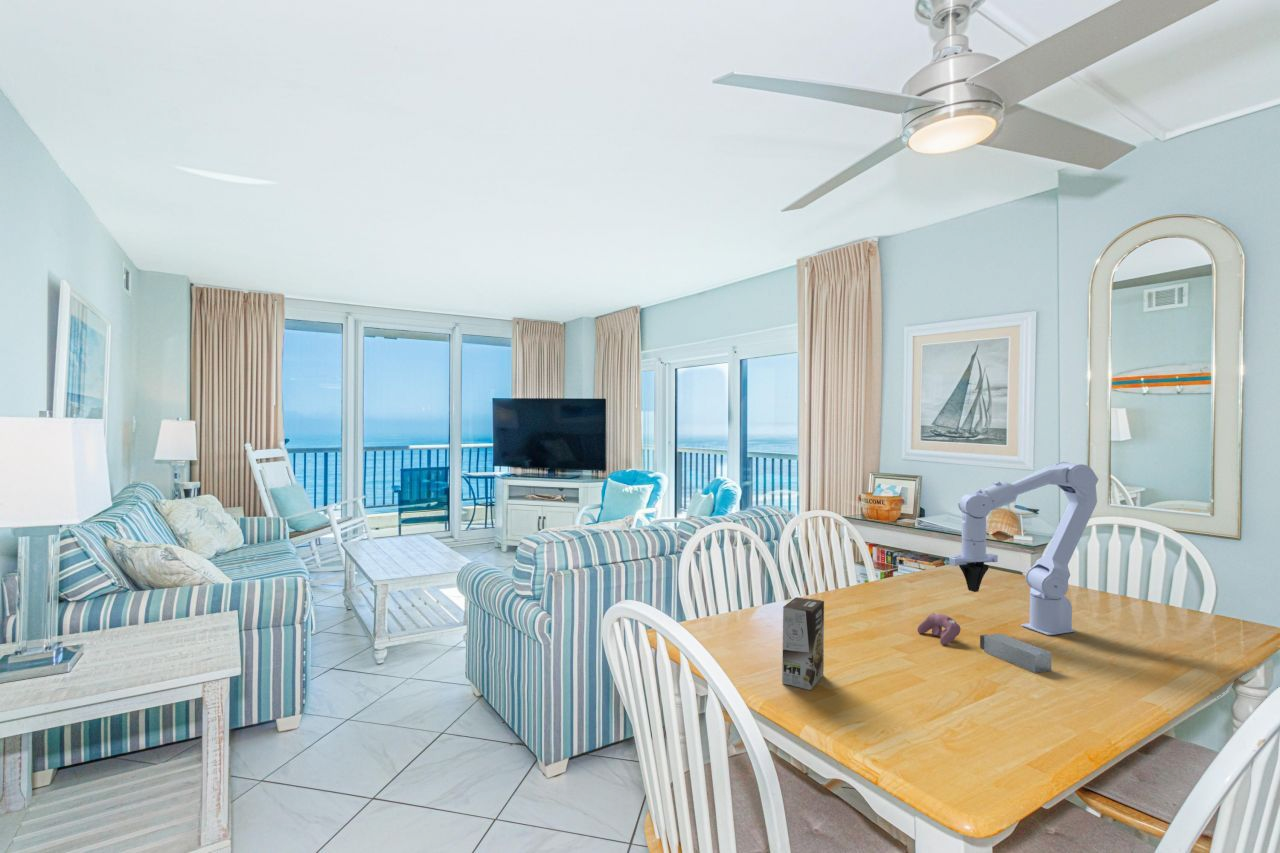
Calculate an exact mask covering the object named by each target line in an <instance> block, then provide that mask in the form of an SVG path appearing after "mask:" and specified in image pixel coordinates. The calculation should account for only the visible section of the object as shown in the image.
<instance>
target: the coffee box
mask: <svg viewBox="0 0 1280 853" xmlns="http://www.w3.org/2000/svg"><path fill="white" fill-rule="evenodd" d="M782 614H783V615H782V667H781V668H782V669H781V670H782V673H781V674H782V675H781V679H782V680H781V683H782V684H784V685H789V686H793V687H796V688H801V689H802V690H803V689H804V690H808V691H811V690H813V688H814V687H815V686H816V685H817V683H819V681H820V680H821V679H822V678H823V676H824V667H825V666H824V664H825V663H824V659H825V658H824V657H825V656H824V654H825V653H824V652H825V651H824V650H825V648H824V645H825V643H824V642H825V640H824V638H825V636H824V635H825V634H824V633H825V632H824V630H825V628H824V627H825V626H824V625H825V624H824V623H825V601H824V600H821V599H814V598H813V599H812V598H803V597H794V598H793V599H792V600H791V601H790V602H788V603H786V604H785V605H784V606H783V608H782Z"/></svg>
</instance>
